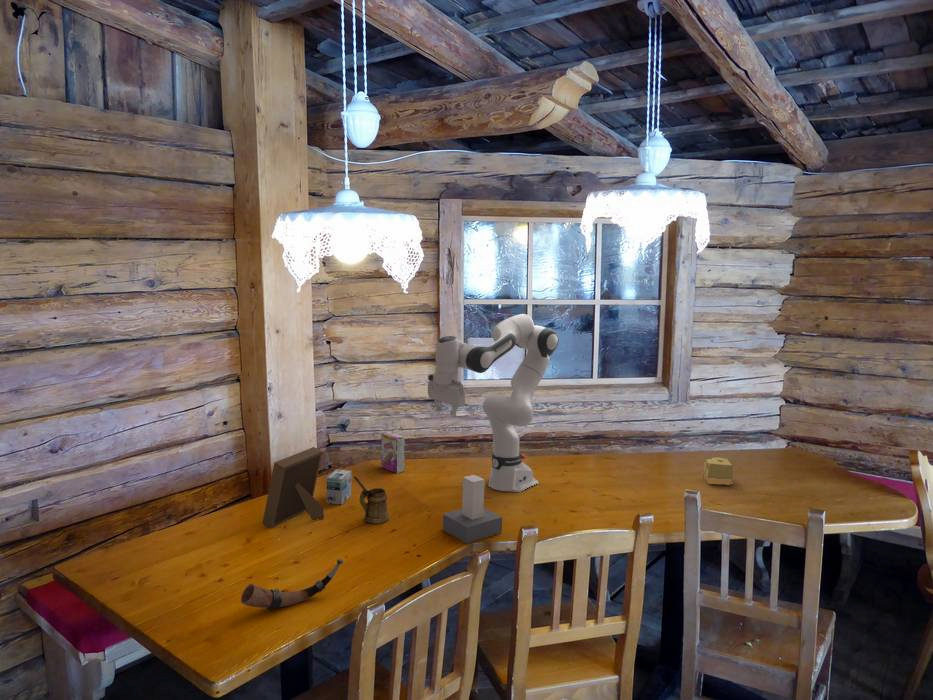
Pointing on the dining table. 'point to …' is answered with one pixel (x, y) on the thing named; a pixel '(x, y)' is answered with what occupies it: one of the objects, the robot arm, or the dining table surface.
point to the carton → (473, 497)
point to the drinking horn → (283, 593)
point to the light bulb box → (338, 486)
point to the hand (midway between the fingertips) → (445, 413)
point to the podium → (471, 525)
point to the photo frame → (293, 488)
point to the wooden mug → (374, 504)
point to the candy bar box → (392, 452)
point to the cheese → (718, 468)
